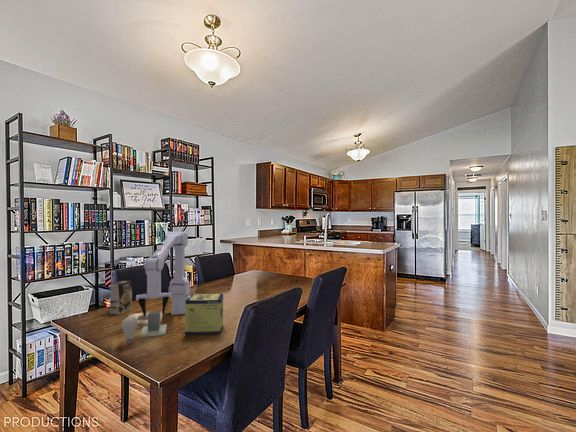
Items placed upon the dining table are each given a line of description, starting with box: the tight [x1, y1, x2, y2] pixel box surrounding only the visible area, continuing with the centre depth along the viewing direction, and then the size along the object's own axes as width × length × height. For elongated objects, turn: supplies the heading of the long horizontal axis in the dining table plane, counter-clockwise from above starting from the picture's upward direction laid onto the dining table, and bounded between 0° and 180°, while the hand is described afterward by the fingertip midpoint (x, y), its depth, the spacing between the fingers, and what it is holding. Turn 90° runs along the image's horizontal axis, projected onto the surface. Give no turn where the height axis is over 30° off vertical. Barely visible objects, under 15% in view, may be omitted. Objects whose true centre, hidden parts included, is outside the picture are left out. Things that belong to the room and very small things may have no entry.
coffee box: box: [109, 280, 133, 316], centre depth 165 cm, size 9×6×16 cm
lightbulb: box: [120, 316, 138, 345], centre depth 125 cm, size 6×6×11 cm
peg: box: [148, 310, 161, 332], centre depth 138 cm, size 4×4×8 cm
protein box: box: [184, 293, 224, 336], centre depth 140 cm, size 10×16×16 cm
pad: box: [139, 323, 168, 338], centre depth 138 cm, size 10×10×1 cm
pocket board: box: [127, 310, 164, 329], centre depth 150 cm, size 16×16×2 cm
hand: (154, 314), depth 138 cm, fingers open, 7 cm apart
